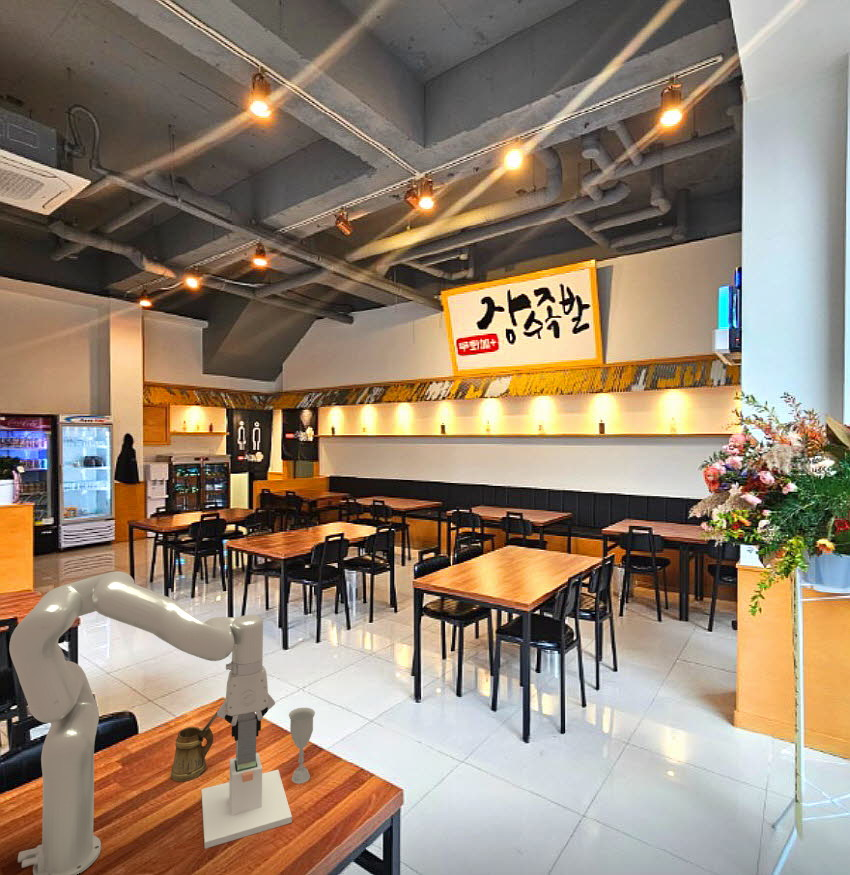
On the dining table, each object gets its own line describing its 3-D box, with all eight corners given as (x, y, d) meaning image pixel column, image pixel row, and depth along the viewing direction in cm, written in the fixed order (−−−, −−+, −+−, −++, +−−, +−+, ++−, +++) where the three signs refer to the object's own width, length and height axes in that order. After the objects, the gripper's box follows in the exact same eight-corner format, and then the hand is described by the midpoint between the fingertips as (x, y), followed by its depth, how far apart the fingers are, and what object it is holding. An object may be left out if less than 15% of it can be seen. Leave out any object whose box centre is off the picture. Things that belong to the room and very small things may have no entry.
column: (237, 786, 130) (238, 722, 130) (235, 775, 134) (236, 714, 134) (255, 781, 132) (256, 719, 132) (253, 771, 136) (254, 710, 136)
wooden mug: (214, 781, 143) (215, 716, 143) (165, 782, 143) (166, 717, 143) (225, 761, 152) (226, 700, 152) (179, 761, 152) (180, 700, 152)
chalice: (317, 770, 148) (318, 708, 148) (309, 786, 142) (310, 721, 142) (292, 768, 149) (293, 706, 149) (283, 784, 142) (284, 719, 142)
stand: (204, 848, 120) (205, 799, 120) (201, 794, 138) (202, 751, 138) (291, 822, 128) (292, 776, 128) (278, 774, 146) (278, 734, 146)
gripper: (212, 677, 126) (211, 752, 126) (283, 665, 133) (282, 736, 133) (211, 665, 133) (210, 736, 133) (278, 654, 140) (277, 721, 140)
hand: (246, 735), depth 133 cm, fingers closed on column, 4 cm apart
